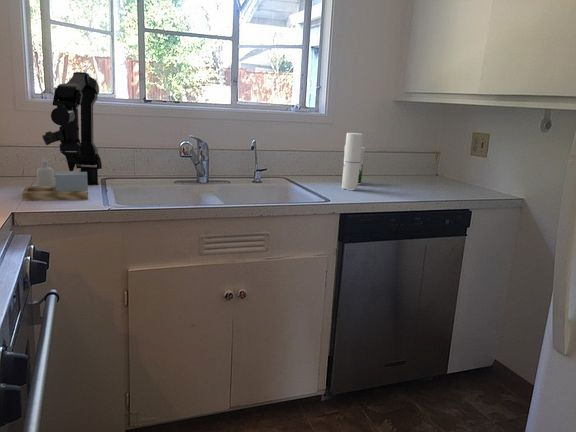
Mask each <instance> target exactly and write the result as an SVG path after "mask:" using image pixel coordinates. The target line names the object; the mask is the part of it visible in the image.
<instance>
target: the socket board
mask: <svg viewBox="0 0 576 432" xmlns="http://www.w3.org/2000/svg"><path fill="white" fill-rule="evenodd" d="M21 195H22V199H21V200H22V201H23V202H24V201H25V202H26V201H28V202H29V201H32V202H33V201H73V200H74V201H77V200H78V201H79V200H82V201H84V200H89V190H88V191H56V185H54V186H37V185H35V186H34V185H33V186H32V185H31V186H30V185H29V186H25V187H24V189H23V191H22V193H21Z"/></svg>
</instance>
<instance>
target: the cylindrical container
mask: <svg viewBox="0 0 576 432" xmlns="http://www.w3.org/2000/svg"><path fill="white" fill-rule="evenodd" d="M363 135H364V134H363V133H360V132H358V133H357V132H346V137H345V144H344V146H345V156H343V164H344V167H343V166H342V175H343V178H342V177H341V178H342V179H341V189H342V188H345V189H357V190H358V187H359V186H358V178H359V168H360V158H361V148H362V147H363Z"/></svg>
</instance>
